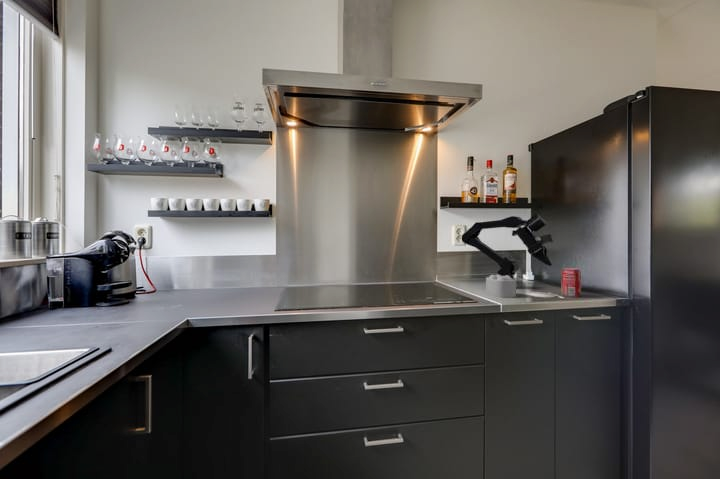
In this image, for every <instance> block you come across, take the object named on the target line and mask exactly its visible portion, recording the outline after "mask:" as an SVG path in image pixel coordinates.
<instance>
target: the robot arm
mask: <svg viewBox="0 0 720 479" xmlns="http://www.w3.org/2000/svg"><path fill="white" fill-rule="evenodd" d="M547 225H548V223H547V221H546V220H545V219H544V218H543V217H541V216H540V215H539V214H538V213H534V214H533V216H531V217H530V218H529V219H528V220H526V219H523V218H522V217H520V216H514V215H512V216H508V217H504V218H502V219H498V220H488V221H478V222H475V223H474V224H473V225H472V226H470V228H468V230H466V231H465V232H464V233H463V234H462V235H461V242H462V243H464V244H465V245H469V246H471V247H473V248H476V250H478V251H480V252H481V253H483V254H484V255H485V256H487V257H488V258H490V259H491V260H493V261H494V262H495V263H496V264H497V265H498V266H499V268H500V269H498V270H497V275H501V276H506V275H508V276H510V277H511V278H512V279H514V280H516V278H515V275H516V273H517V272H518V271H519V270H520V264H519V263H518V262H517V261H518V260H516V259H513V257H511V256H510V255H509V256H507V255H506V256H503V255H501V253H499V252H498V251H496V250H494V249H493V248H491V247H490V246H489V245H487V244H485V243H484V242H483V241H482V240H481V238H480V237H479V236H480V233H481V232H482V230H487V229H499V228H507V229H508V228H509V229H513V230H512V231H511V232H512V233H511V237H516V236H518V238H519V239H520V240H521V242H522V243H523V244H524V245H525V247H526V248H527V252H528V254H529V255H531V256H532V258H533V257H534V258H535V259H537V260H538V261H540V262H542V263H544V265H546V266H548V267H551V266H552V265H553V264H552V262H551V260H550V258H549V256H548V251H549V250H548V249H547V247H546V246H545V245H544V244H548V243H553V242H554V239H553V237H552V234H550V233H548V234H545V235H542V236H538V237H537V236H536V235H535V234H534V233H533V232H535V233H536V232H538V231H540V230H541V229H543V228H545V226H547ZM514 229H515V230H514Z"/></svg>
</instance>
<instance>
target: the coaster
mask: <svg viewBox="0 0 720 479" xmlns="http://www.w3.org/2000/svg"><path fill="white" fill-rule="evenodd" d="M551 293H552V292H549V293H548V292H544V291H543V292H542V291H527V292H526V293H525V294H526V296H529V297H535V298H545V299H546V298H556V296H555V295H556V294H555V295H554V293H552V294H551Z"/></svg>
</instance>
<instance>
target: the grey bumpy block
mask: <svg viewBox="0 0 720 479" xmlns="http://www.w3.org/2000/svg"><path fill="white" fill-rule="evenodd" d="M514 279H515V278H514ZM514 279H512V278H511V277H510V276H508V275H506V276H501V275H498V274H495V275H494V274H491V275H489V276H487V277H485V294H486V295H487V296H490V297H493V298H498V297H500V298H499V299H501V298H502V299H507V297H514V298H517V280H516V279H515V280H514Z"/></svg>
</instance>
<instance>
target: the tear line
mask: <svg viewBox="0 0 720 479" xmlns="http://www.w3.org/2000/svg"><path fill="white" fill-rule="evenodd" d="M547 293H551V294H554V293H553V292H547ZM554 295H555V297H558V298H560V299H565V296H561V295H558V294H556V293H555V294H554Z"/></svg>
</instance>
